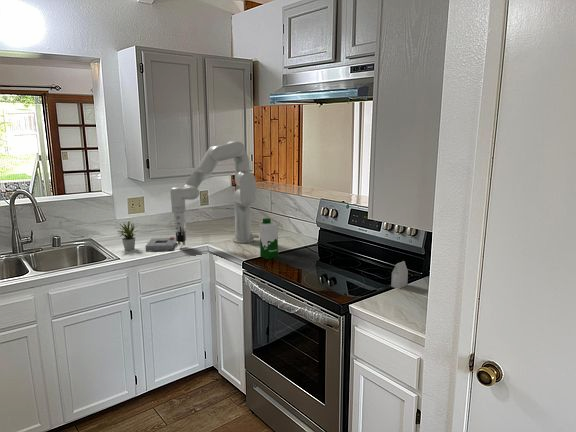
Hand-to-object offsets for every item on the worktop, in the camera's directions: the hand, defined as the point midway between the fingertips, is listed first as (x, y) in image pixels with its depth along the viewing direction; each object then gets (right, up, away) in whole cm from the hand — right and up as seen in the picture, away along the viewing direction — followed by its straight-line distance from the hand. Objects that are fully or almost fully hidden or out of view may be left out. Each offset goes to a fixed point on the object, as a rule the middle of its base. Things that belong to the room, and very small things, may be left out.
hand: (181, 240), depth 244 cm
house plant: (-30, -5, -1) cm, 30 cm away
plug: (0, -2, 0) cm, 2 cm away
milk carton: (+51, -8, -19) cm, 55 cm away
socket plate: (-12, -4, +3) cm, 13 cm away
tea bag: (+107, -16, -64) cm, 126 cm away
